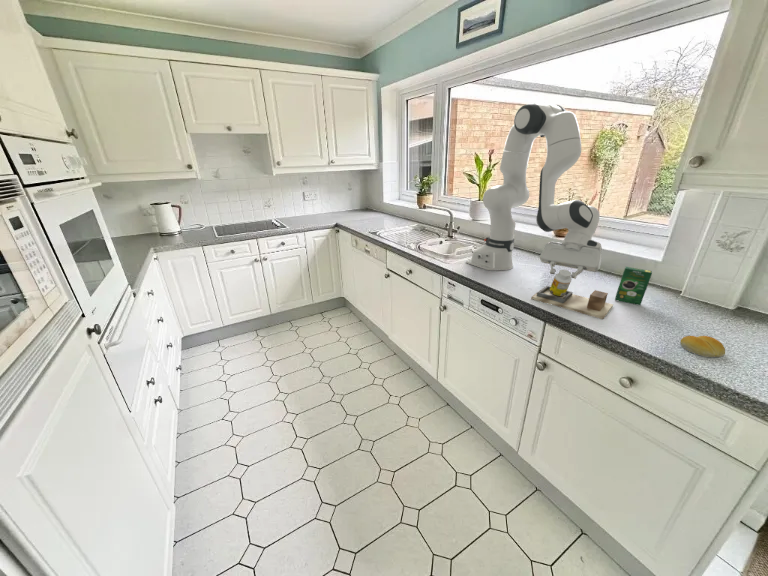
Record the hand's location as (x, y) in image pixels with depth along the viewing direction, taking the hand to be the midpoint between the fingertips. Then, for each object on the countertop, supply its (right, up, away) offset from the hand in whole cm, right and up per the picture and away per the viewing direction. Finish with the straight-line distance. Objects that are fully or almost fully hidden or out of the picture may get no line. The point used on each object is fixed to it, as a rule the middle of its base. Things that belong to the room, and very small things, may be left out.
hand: (562, 275), depth 119 cm
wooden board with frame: (+3, -10, 0) cm, 11 cm away
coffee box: (+24, -10, 0) cm, 26 cm away
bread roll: (+23, -23, -29) cm, 43 cm away
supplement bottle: (0, -7, +3) cm, 8 cm away
